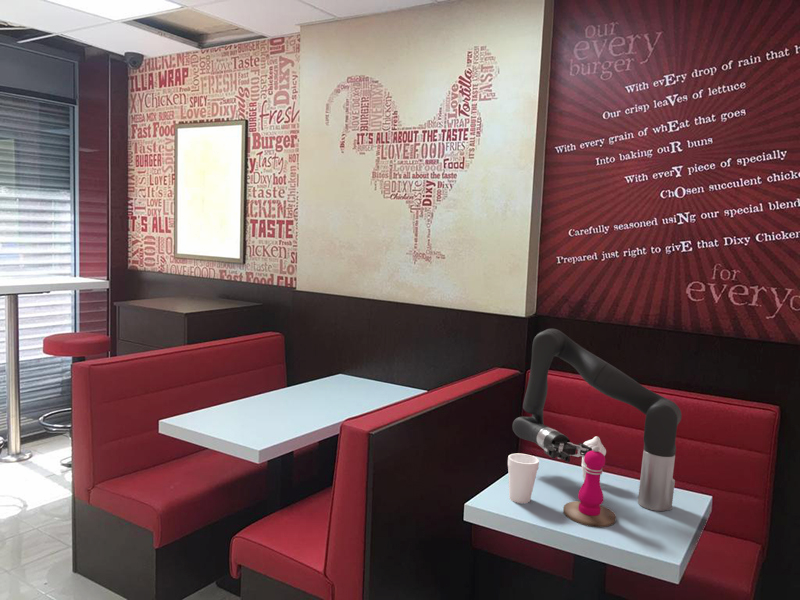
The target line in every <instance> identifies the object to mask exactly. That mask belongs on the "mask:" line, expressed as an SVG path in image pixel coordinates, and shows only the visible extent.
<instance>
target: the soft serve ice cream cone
mask: <svg viewBox="0 0 800 600" xmlns="http://www.w3.org/2000/svg"><path fill="white" fill-rule="evenodd" d="M582 444H584V445H586V446H588V447H590V448H592V451H593V447H594V446H598V448H599V452H601V453H602V454H603V455H604V457H605V456H606V454H607V449H606V447H604V445H603V443H602V441H601V439H600V437H599V436H594V437H593V438H592V439H588V440H586V441H584V442H583V443H582ZM581 454H583V453H581ZM580 465H581V469H582V480H583V482H584V481H585V477H586V471H585V466H586V464H585V462H584V457H582V456H581V464H580Z"/></svg>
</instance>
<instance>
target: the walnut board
mask: <svg viewBox="0 0 800 600" xmlns="http://www.w3.org/2000/svg"><path fill="white" fill-rule="evenodd" d="M579 503H581V502H580V500H578V501H569V502H566V504H564V505H563V510H562V511H563V515H564V516H565V517H567V519H568V520H570V521H573V522H574V523H577V524H580V525H584V526H587V525H588V526H587V527H593V526H594V528H595V527H596V528H604V527H606V528H607V527H610V526H613V525H614V524H615V523H616V520H617V515H616V513H615V512H614V511H613V510H611V509H610V508H608V507H606V506H604V505H602V504H601V505H599V506H600V507H601V510H600V514H599V515H597V516H590V515H586V514H583V513H581V512H580V511H579V510H578V508H579Z"/></svg>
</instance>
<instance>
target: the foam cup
mask: <svg viewBox="0 0 800 600" xmlns="http://www.w3.org/2000/svg"><path fill="white" fill-rule="evenodd" d="M539 466H540V459H539V458H537V457H536V456H534V455H530V454H526V453H520V452H518V453H511V454H509V455H508V457H507V469H508V470H507V471H508V493H509V494H508V495H509V500H510V501H512V502H513V501H514V502H513V503H516V502H517V504H523V503H524V504H529V503H530V502H531V499H532V493H533V491H534V486H535V482H536V479H537V477H536V476H537V473H538V470H539ZM528 502H529V503H528Z"/></svg>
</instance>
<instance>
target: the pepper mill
mask: <svg viewBox="0 0 800 600" xmlns="http://www.w3.org/2000/svg"><path fill="white" fill-rule="evenodd" d="M584 462H585V464H586V466H585V471H586V477H585V481H584V480H583V483H582V485H581V486H580V488H579V490H578V494H577V498H578V501H580V502H581V503H579V508H578V510H579V511H580V512H581V513H583V514H586V515H590V516H597V515H599V514H600V510H601V507H600V506H599V505H601V506H602V504H603V503H604V492H603V490H602V486H601V480H600V479H601V476H602V475H603V467H604V466H605V465H606V457H605V456H604V455H603V454H602V453H601V452H599V448H598V446H594V447H593V451H589V452H587V453H586V454H585V457H584Z"/></svg>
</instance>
